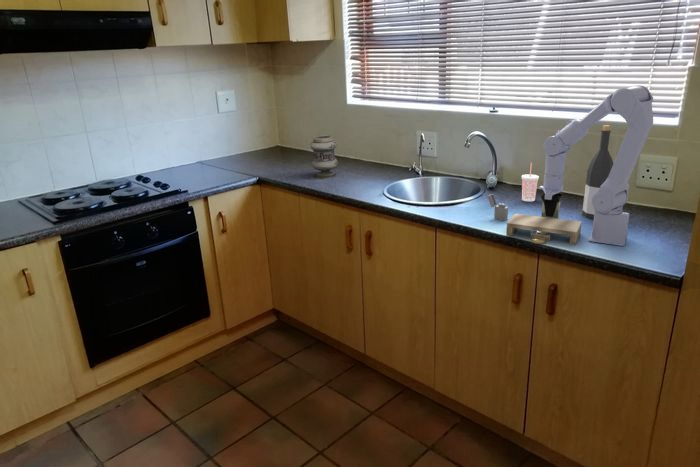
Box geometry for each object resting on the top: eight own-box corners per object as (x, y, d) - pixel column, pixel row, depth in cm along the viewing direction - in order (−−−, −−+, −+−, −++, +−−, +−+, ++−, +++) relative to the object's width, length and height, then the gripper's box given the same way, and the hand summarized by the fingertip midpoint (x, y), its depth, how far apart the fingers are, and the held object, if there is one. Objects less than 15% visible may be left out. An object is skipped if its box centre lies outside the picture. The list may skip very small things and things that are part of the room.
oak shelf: (580, 233, 162) (581, 221, 161) (575, 244, 154) (576, 232, 153) (514, 225, 172) (514, 213, 170) (506, 235, 164) (507, 222, 162)
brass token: (546, 240, 158) (547, 237, 158) (543, 245, 155) (544, 242, 155) (533, 238, 160) (533, 235, 160) (529, 243, 157) (530, 239, 157)
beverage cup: (518, 201, 196) (520, 164, 191) (521, 196, 201) (524, 160, 196) (535, 202, 193) (538, 165, 188) (538, 198, 198) (541, 161, 193)
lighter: (507, 219, 177) (509, 196, 175) (505, 220, 176) (506, 197, 174) (488, 215, 182) (489, 193, 179) (486, 216, 181) (487, 194, 178)
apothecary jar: (309, 174, 248) (307, 135, 242) (334, 171, 251) (332, 133, 245) (316, 180, 237) (313, 139, 231) (341, 176, 240) (339, 137, 234)
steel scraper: (558, 224, 170) (561, 201, 168) (549, 240, 158) (552, 215, 155) (541, 222, 173) (543, 199, 170) (530, 237, 161) (532, 213, 158)
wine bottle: (576, 213, 180) (587, 125, 169) (595, 210, 182) (606, 122, 172) (594, 220, 173) (606, 128, 162) (613, 217, 175) (626, 126, 165)
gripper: (545, 167, 173) (541, 207, 178) (535, 178, 161) (532, 220, 166) (568, 169, 170) (564, 209, 174) (560, 180, 158) (556, 223, 163)
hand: (550, 215), depth 170 cm, fingers closed on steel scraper
